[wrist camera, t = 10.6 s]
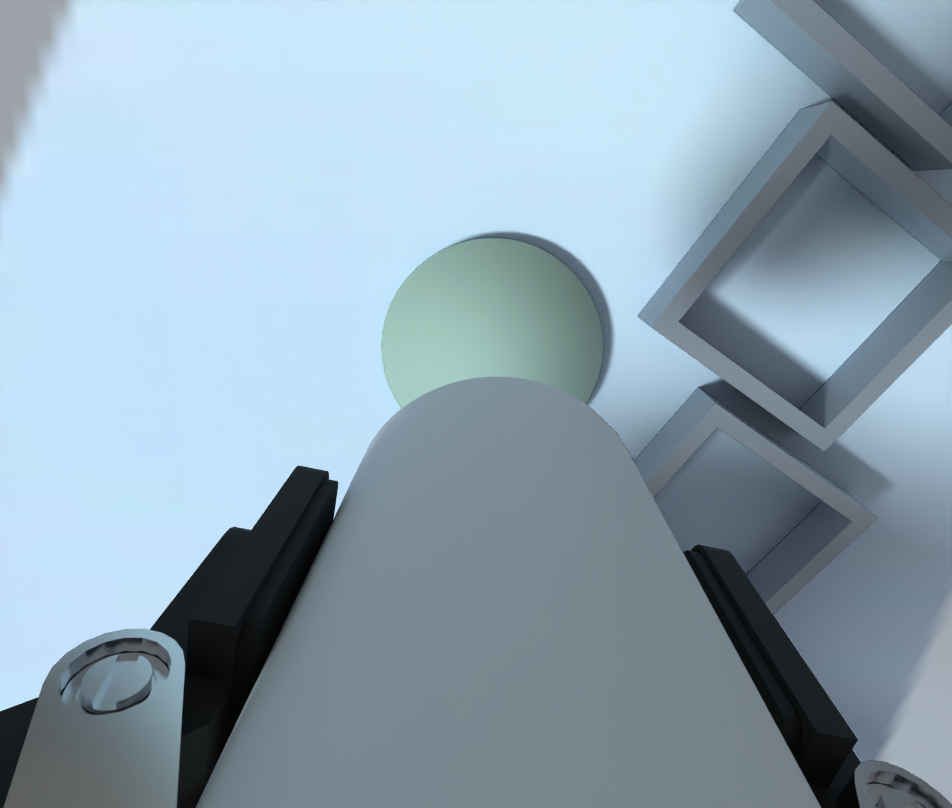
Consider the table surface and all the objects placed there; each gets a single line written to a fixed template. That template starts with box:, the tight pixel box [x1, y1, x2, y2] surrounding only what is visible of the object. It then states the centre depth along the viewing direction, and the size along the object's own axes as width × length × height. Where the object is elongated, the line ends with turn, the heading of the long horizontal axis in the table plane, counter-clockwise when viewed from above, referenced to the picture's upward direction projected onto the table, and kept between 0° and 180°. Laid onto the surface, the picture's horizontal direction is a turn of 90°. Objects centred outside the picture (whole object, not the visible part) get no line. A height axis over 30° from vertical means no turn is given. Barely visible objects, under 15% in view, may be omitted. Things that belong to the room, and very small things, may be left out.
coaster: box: [381, 238, 603, 409], centre depth 26 cm, size 10×10×1 cm
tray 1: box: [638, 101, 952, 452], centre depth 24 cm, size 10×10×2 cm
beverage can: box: [196, 377, 821, 808], centre depth 8 cm, size 6×6×12 cm
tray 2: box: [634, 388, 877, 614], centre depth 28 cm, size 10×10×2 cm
